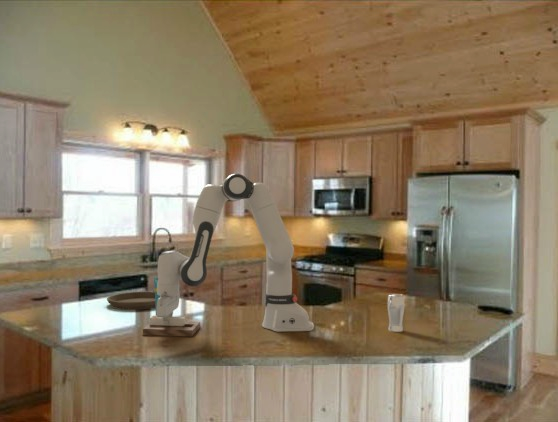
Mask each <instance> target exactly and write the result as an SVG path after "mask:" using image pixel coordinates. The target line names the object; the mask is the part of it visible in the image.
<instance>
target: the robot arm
mask: <svg viewBox="0 0 558 422" xmlns="http://www.w3.org/2000/svg"><path fill="white" fill-rule="evenodd" d="M241 200H244V201H245V202H246V203H247V204H248V206H249V209H250V211H251V215H252V217H253V219H254V223H255V225H256V227H257V230H258V233H259V235H260V237H261V239H262V242H263V245H264V247H265V249H266V251H265V252H266V256H265V257H266V259H265V260H266V263H265V264H266V288H265V289H266V293H265V294H264V295H265V296H264V305H265V310H264V311H265V312H264V317H263V321H262V324H261V326H262V327H263V328H265V329H268V330H271V331H274V332H279V333H281V332H310V331H313V330H314V329H315V324H314V323H313V322H312V321H310V317H309V313H308V311H307V310H306V309H305V308H303V306H301V305H300V304H299V303H298V302H297V301H298V297H297V295H296V294H294V293H293V290H292V289H293V271H292V258H293V256H294V252H295V248H294V244H293V242H292V240H291V236H290V235H289V232H288V230H287V228H286V226H285V224H284V221H283V219H282V217H281V214H280V212H279V209H278V206H277V204H276V201H275V199H274V197H273V195H272V193H271V191H270V190H269V187H268V186H267V185H266V183H264V182H254V183H253V182H252V181H251V180H249V178H247V177H246V176H244V175H243V174H241V173H232V174H229V175H228V176H227V177H225V178H224V180H223V181H222V183H220V185H217V184H206V185H205V186H204V187H203V188H202V189H201V192H200V194H199V196H198V199H197V200H196V203H195V207H194V210H193V215H192V225H193V227H194V232H195V237H194V242H193V246H192V249H191V253H190V256H187V255H184V254H182V253H180V252H179V251H178V250H166V251H163V252H161V253H160V254H159V256H158V261H157V278H158V282H157V295H159V296H160V298H158V301H157V311H156V310H155V316H156V315H157V317H159V318H163V321H164V325H168V324H169V320H168V317H174V316H173V315H174V311H176V310H177V309H178V308H179V304H180V298H181V295H180V293H181V291H182V286H181V285H180V281H183V283H184V284H185V285H187V286H189V287H198V286H200V285H201V284H203V283H204V281H206V278H207V275H208V274H207V271H208V270H207V264H206V263H207V259H208V253H209V250H210V245H211V242H212V238H213V236H214V233H215V230H216V228H217V225H218V223H219V221H220V217H221V215H222V214H221V213H222V211H223V208H224V205H225V203H226V202H237V201H241Z"/></svg>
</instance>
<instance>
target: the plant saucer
mask: <svg viewBox="0 0 558 422" xmlns="http://www.w3.org/2000/svg"><path fill="white" fill-rule="evenodd" d="M106 300H107V302H108V304H110V306H111V307H112V308H114V309H118V310H129V311H130V310H131V311H134V310H135V311H136V310H149V309H154V308H155V309H156V305H155V291H131V292H129V291H128V292H121V293H116V294H113V295H110V296H107V298H106Z"/></svg>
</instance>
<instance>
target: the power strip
mask: <svg viewBox="0 0 558 422" xmlns="http://www.w3.org/2000/svg"><path fill="white" fill-rule="evenodd" d="M168 320H169V324H168V325H164V321H163V318H159V317H157V316H156V315H151V316H150V317H149V324H150V325H154V326H159V325H164V326H184V325H185V321H186V316H172V317H168Z"/></svg>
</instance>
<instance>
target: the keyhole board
mask: <svg viewBox="0 0 558 422" xmlns="http://www.w3.org/2000/svg"><path fill="white" fill-rule="evenodd" d="M199 329H201V321H189V320H188V321H186V320H185V325H184V326H164V325H159V326H154V325H150V323H149V324H147V325H146V326H145V327H143V328H142V336H167V337H170V336H171V337H193V336H194V335H195V334H196V333H197V332H198V331H199Z"/></svg>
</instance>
